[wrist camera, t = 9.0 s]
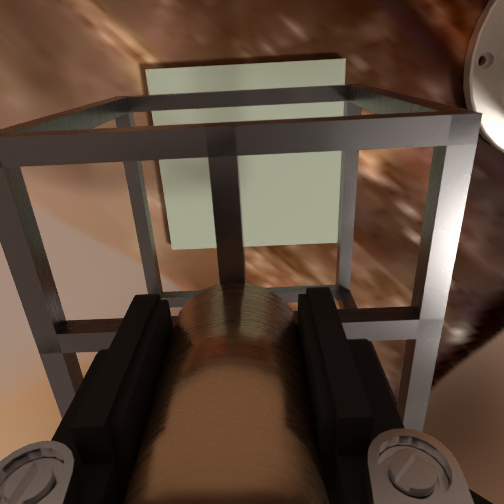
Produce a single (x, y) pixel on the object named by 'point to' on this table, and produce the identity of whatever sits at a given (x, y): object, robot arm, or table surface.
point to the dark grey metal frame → (240, 283)
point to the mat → (253, 158)
